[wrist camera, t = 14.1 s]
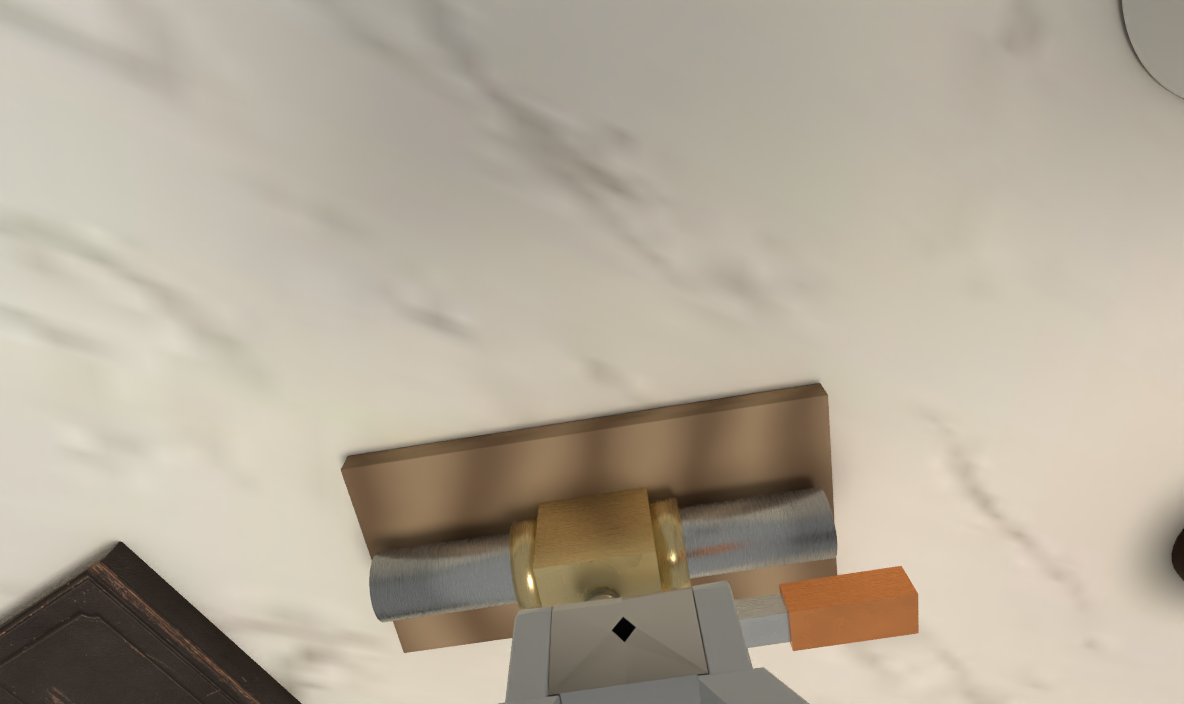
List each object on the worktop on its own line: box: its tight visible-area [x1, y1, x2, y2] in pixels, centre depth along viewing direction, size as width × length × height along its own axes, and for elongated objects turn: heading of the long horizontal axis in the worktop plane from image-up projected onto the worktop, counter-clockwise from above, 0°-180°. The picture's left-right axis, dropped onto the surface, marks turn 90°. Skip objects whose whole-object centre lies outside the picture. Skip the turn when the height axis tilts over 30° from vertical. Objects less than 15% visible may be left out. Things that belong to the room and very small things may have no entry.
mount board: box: [341, 383, 837, 653], centre depth 47 cm, size 28×14×2 cm, turn 99°
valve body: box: [369, 487, 837, 622], centre depth 43 cm, size 26×6×8 cm, turn 100°
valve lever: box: [734, 566, 918, 651], centre depth 37 cm, size 17×3×2 cm, turn 100°
